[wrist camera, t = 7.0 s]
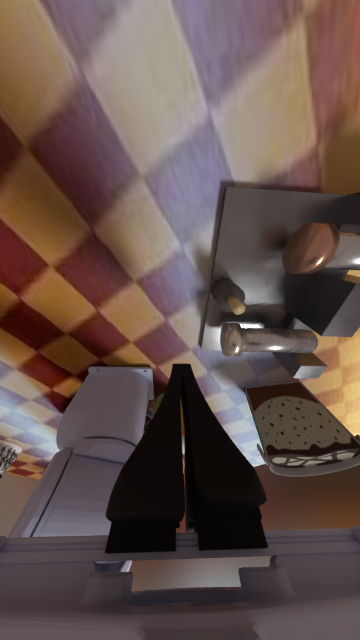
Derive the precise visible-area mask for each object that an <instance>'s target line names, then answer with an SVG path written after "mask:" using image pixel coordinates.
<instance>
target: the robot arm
mask: <svg viewBox="0 0 360 640" xmlns="http://www.w3.org/2000/svg"><path fill="white" fill-rule="evenodd" d="M88 371H89V374H88V376H87V377H86V379H85V381H84V382H83V384H82V385H81V387H80V389H79V390H78V392H77V393H76V395H75V396H74V398H73V400H72V401H71V403H70V404H69V406H68V408H67V409H66V411H65V413H64V415H63V417H62V419H61V422H60V424H59V427H58V431H57V437H56V440H57V446H58V448H59V450H61V451H59V452H57V453H56V454H55V455H54V457H53V458H52V460H51V461H50V463H49V465H48V466H47V468H46V470H45V472H44V473H43V475H42V477H41V479H40V480H39V482H38V484H37V486H36V487H35V489H34V491H33V493H32V494H31V496H30V498H29V500H28V501H27V503H26V505H25V507H24V509H23V511H22V512H21V514H20V516H19V518H18V520H17V522H16V523H15V525H14V527H13V529H12V531H11V533H10V534H9V536H8V538H6V537H5V536H0V640H360V526H355V527H352V528H345V529H309V530H274V531H264V530H263V527H262V524H261V520H260V519H262V516H261V513H260V509H259V506H260V505H262V504H263V503H265V502H266V500H267V499H266V495H265V491H264V489H263V486H262V484H261V482H260V479H259V477H258V476H257V473H256V471H255V469H254V468H253V466H252V465H251V464H250V463H249V462H248V460H247V459H246V458H245V457H244V455H243V454H242V453H241V452H240V450H239V449H238V448H237V447H236V445H235V444H234V443H233V441H232V440H231V439H230V437H229V436H228V435H227V433H226V432H225V430H224V429H223V427H222V426H221V425H220V423H219V422H218V420H217V419H216V417H215V415H214V414H213V412H212V411H211V409H210V407H209V405H208V404H207V402H206V400H205V398H204V396H203V394H202V392H201V390H200V388H199V386H198V384H197V382H196V379H195V377H194V374H193V371H192V368H191V365H190V364H173V366H172V372H171V376H170V379H169V382H168V385H167V388H166V391H165V393H164V396H163V398H162V400H161V403H160V405H159V407H158V409H157V411H156V413H155V415H154V417H153V419H152V421H151V422H150V424H149V426H148V428H147V430H146V431H145V433H144V435H143V429H144V424H145V418H146V412H147V406H148V400H153V399H154V386H153V373H152V368H150V367H102V366H91V367H89V369H88ZM181 403H182V413H183V423H184V445H185V489H184V472H183V452H182V430H181ZM142 435H143V436H142ZM185 506H186V532H194V533H176V528H179V527H180V525H179V524H180V521H182V519H183V516H184V513H185ZM252 556H272V557H271V559H270V565H269V567H243V568H239V570H238V571H239V577H240V582H241V587H202V588H201V587H198V588H172V589H156V590H144V591H131V588H132V581H133V573H132V572H129V569H130V566H131V563H132V561H137V560H166V559H192V558H223V557H252Z"/></svg>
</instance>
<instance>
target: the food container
mask: <svg viewBox="0 0 360 640" xmlns="http://www.w3.org/2000/svg"><path fill="white" fill-rule="evenodd" d="M244 391H245V394H246V397H247V400H248V404H249V407H250V410H251V413H252V416H253V419H254V422H255V425H256V429H257V432H258V435H259V438H260V441H261V444H262V447H263V450H264V453H263V451H262V449H261V447H260V446H259V444H257V448H258V450H259V452H260V454H261V456H262V458H263V459H264V461H265V463H266V464H267V465H268V466H269V468H270V470H271V471H272V472H274V473H276V474H279V475H283V476H312V475H320V474H326V473H331V472H336V471H340V470H344V469H347V468H350V467H353V466H356V465H359V464H360V436H359V435H356V436H355V437H354V436H353V435H352V434H351V433H350V432H349V431H348V430H347V429H346V428H345V427H344V426H343V425H342V424H341V422H340V421H339V420H338V419H337V418H336V417H335V416H334V415H333V414H332V413H331V412H330V411H329V410H328V409H327V408H326V407H325V406H324V405H323V404H322V403H321V402H320V401H319V400H318V399H317V398H316V397H315V396H314V395H313V394H312V393H311V392H310V391H309V390H308V389H307V388H306V387H305V386H304V385H303V384H302V383H301V382H300V381H291V382H282V383H273V384H265V385H256V386H247V387H244Z"/></svg>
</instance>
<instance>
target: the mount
mask: <svg viewBox="0 0 360 640" xmlns="http://www.w3.org/2000/svg"><path fill="white" fill-rule="evenodd" d="M310 222H315V223H330V224H333V225H335V226H336V227H337V228H338V230H339V232H344V233H360V192H359V193H354V194H350V195H340V194H325V193H310V192H296V191H281V190H266V189H251V188H236V187H226V188H225V191H224V197H223V204H222V210H221V217H220V223H219V230H218V236H217V243H216V249H215V256H214V262H213V269H212V276H211V282H210V289H209V295H208V302H207V308H206V315H205V321H204V328H203V334H202V341H201V350H222V349H221V345H220V332H221V328H222V325H223V324H224V323H238V324H239V325H240V326H241V328H274V329H308V330H311V331H312V330H313V331H315V332H316V333H318V334H319V335H320V336H336V337H352V336H353V335H354V333H355V332H356V331H357V330H358V328H359V327H360V277H357V276H353V275H348V274H347V272H348V271H349V270H343V269H321V270H319V271H317V272H315V273H312V274H291V273H288V272H287V271H286V270H285V269H284V267H283V263H282V256H283V252H284V248H285V246H286V244H287V242H288V240H289V238H290V237H291V236H292V234H293V233H294V232H295V231H296V230H297V229H298V228H299V227H301V226H302V225H304V224H306V223H310ZM225 279H227V280H231V281H233V282H234V283H235V284H236V285H237V286H239V287H240V288H241V289H242V290H243V291H244V293H245V301H244V303H243V305H244V306H245V311H244V312H243V313H242V314H240V315H236V314H234V312H225V311H222V310H221V309H220V308H219V306H218V305H217V303H216V301H215V299H214V298H213V295H212V290H213V287H214V286H215V284H216V283H218V282H219V281H221V280H225ZM272 353H273V354H274V355H275V356H276V358H277V359H278V360H279V361H280V363H281V364H282V365H283V366H284V367H285V369H286V370H287V371H288V372H289V374H290V375H291V376H292V377H293V378H319V377H320V375H321V374H322V373H323V372H324V370H325V369H326V368H327V367H328V366H327V365H326V364H325V363H323V362H322V361H321V360H320V359H319V358H318V357H317V356H315V355H314V354H313V353H312V352H311V353H290V352H272Z"/></svg>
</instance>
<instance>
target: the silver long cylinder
mask: <svg viewBox="0 0 360 640" xmlns="http://www.w3.org/2000/svg"><path fill="white" fill-rule="evenodd" d="M220 345H221V349H222V352H223V354H224V355H225V356H239V355H240V354H241V353H242V352H290V353H311V352H313V351H315V349H316V348H317V345H318V339H317V337H316V335H315V333H314V332H312V331H311V330H308V329H274V328H241V326H240V325H239V324H238V323H224V324H223V325H222V328H221V332H220Z"/></svg>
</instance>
